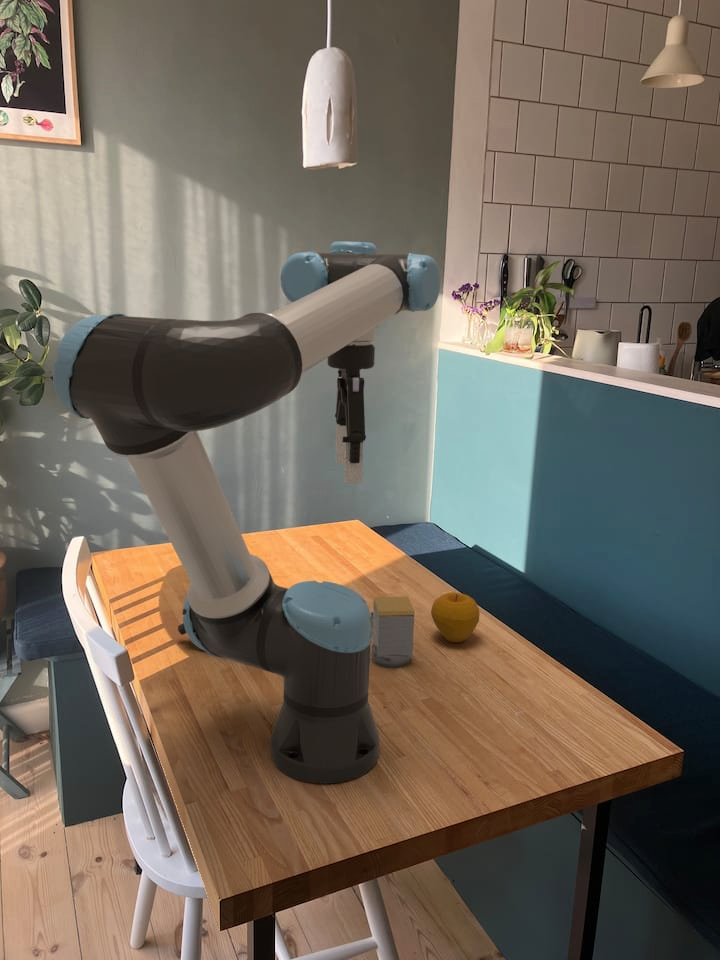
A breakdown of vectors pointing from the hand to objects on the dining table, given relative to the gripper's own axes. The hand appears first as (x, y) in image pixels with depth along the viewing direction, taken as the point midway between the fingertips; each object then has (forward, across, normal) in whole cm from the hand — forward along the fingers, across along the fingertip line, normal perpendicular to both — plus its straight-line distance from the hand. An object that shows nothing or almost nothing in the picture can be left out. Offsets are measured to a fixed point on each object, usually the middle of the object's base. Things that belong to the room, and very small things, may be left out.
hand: (348, 472), depth 134 cm
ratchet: (+33, +3, -8) cm, 34 cm away
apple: (+33, +4, -21) cm, 39 cm away
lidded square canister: (+31, -3, -8) cm, 32 cm away
